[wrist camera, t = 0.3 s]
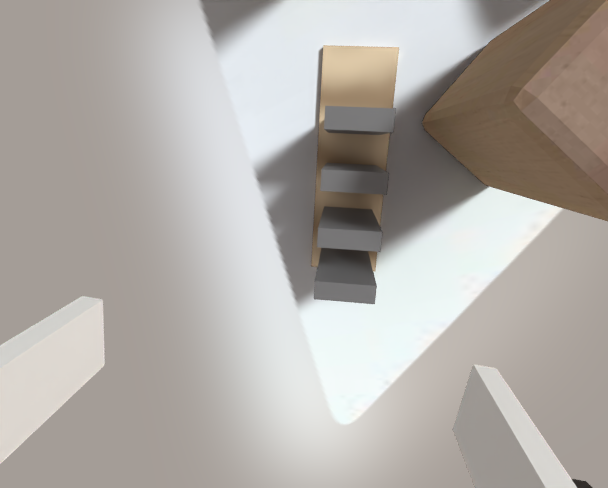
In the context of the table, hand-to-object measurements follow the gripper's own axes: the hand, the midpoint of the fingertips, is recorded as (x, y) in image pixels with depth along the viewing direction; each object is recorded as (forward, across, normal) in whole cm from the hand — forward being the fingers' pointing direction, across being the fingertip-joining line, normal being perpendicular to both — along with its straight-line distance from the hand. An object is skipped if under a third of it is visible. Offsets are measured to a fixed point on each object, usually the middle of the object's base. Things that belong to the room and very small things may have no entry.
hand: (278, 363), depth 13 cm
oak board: (+27, +2, +5) cm, 28 cm away
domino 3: (+27, +3, 0) cm, 27 cm away
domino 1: (+27, +2, +9) cm, 28 cm away
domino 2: (+27, +2, +5) cm, 27 cm away
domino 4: (+27, +3, -4) cm, 27 cm away
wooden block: (+27, +15, +12) cm, 33 cm away
